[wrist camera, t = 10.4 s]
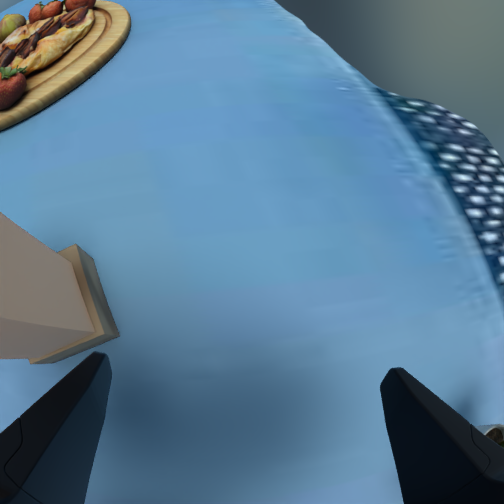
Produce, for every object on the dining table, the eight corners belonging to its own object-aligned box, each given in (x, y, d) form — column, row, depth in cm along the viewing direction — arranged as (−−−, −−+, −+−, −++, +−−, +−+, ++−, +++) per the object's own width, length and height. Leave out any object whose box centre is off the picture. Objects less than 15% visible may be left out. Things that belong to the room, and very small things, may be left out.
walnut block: (121, 336, 21) (104, 333, 17) (54, 363, 19) (30, 364, 15) (94, 259, 22) (75, 243, 18) (32, 288, 21) (7, 278, 17)
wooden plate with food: (98, 120, 27) (80, 60, 19) (-75, 160, 21) (-102, 129, 14) (149, -1, 37) (149, -38, 29) (5, 33, 31) (-5, 4, 24)
